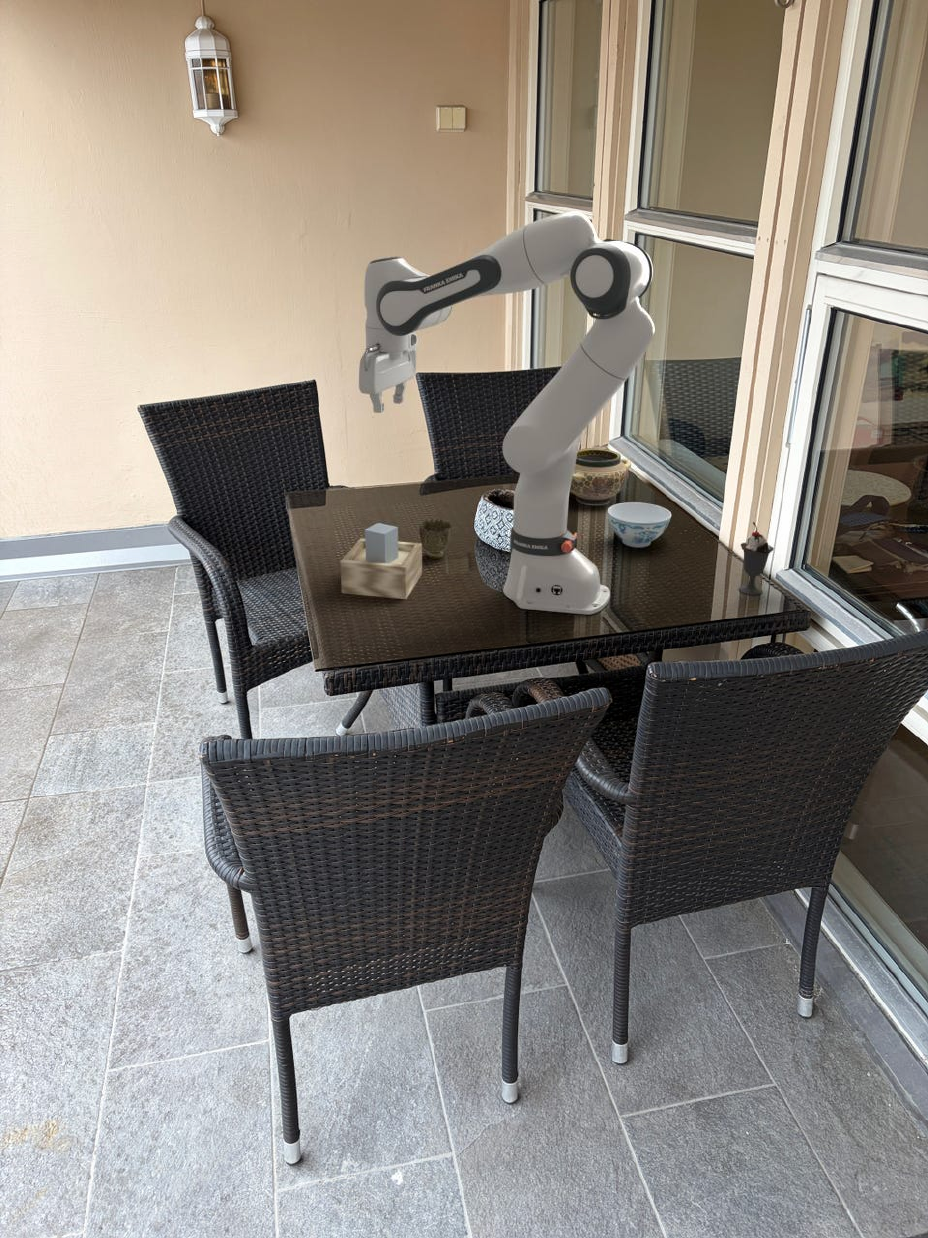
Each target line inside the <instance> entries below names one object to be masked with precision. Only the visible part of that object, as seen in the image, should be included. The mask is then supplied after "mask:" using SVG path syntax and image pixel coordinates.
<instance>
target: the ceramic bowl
mask: <svg viewBox="0 0 928 1238" xmlns="http://www.w3.org/2000/svg"><path fill="white" fill-rule="evenodd" d="M621 456H622V455H621V454H620V453H619V452H616V451H613V450H611V449H605V448H591V447H589V448H582V449H578V452H577V458H576V463H575V468H574V473H573V477H572V481H571V486H570V492H569V493H572V494H573V495H575V496H576V497H575V500H576V501H577V502H578V503H579V504H582V505H586V506H604V505H608V504H610V502H611V500H612V497H614V496H615V495H617V494H619V492H620V491H621V490H623V488H625V486H626V484H627V482H628V479H629V474H630V473H629V469H630V468H631V467H632V462H631V461H630V460H629V459H627V458H621Z"/></svg>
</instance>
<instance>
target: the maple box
mask: <svg viewBox="0 0 928 1238" xmlns="http://www.w3.org/2000/svg"><path fill="white" fill-rule="evenodd" d="M339 562H340V580H341V593H342V594H348V595H349V594H350V595H359V596H368V597H377V598H378V597H379V598H389V599H401V600H407V598H408V597H409V595H410V593H411V592H412V591H413V589H414V588H415V586H416V584H417V582H418V581H419V580H420V578H421V576H422V575H423V546H422V543H421V542H419V543H418V542H410V541H409V542H408V541H398V558H397V559H396V560H394V561H392V562H391V563H389V564H388V563H376V562H369V561H366V550H365V538H359V539H358V540H357V542H356V543H355V544H354V545H353V547H351V548H350V549H349V551H348V552H347V553H346V554H345V556H343V558H342V559H340V561H339Z"/></svg>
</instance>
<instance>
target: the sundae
mask: <svg viewBox="0 0 928 1238" xmlns="http://www.w3.org/2000/svg"><path fill="white" fill-rule="evenodd" d="M752 524H753V526H754V527H755V531H753V532H752V534H751V536H750V537H749V538H748V539H747V540H746V542H742V543H741V544H740V547H741V550H742V551H743V568H744V569H743V570H744V572H746V574H747V575H748V576H749V580H748V583H747V585H742V586H739V587H738V591H739V592H740V593H741V594H744V595H747V596H759V595H762V594H763V590H762V589H761V588H760V587H758V586H756V584H755V583H756V577H758V576H760V575H761V574H762V573H764V570H765V568H766V565H767V562H768V559H769V556H770V553H772V552H773V551H774V549H775V548H774V547H773V546H771V545H770V544H769V543H768V542H767V540H766V537H765V536H764V535H763V534H760V532H759V531H758V527H757V525H756V522H754V521H753V522H752Z"/></svg>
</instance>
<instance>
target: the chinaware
mask: <svg viewBox="0 0 928 1238" xmlns="http://www.w3.org/2000/svg"><path fill="white" fill-rule="evenodd" d="M607 517H608V522H609V525H610V527H611V529H612V530H613V531H612V532H614V533H615V534H616V536H618V537H619V538H620V539H621V540H622V541H621V542H622V543H623V545H626V546H628V547H632V548H645V547H648V546H650V545H651V542H653V541H654V540H657V539H658V538H659V537H660V536H661V535H662V534H663V533H664V532H665V530H666V529H667V527H668V525H669V523H670V521H671V517H672V513H671V511H670V510H668V509H667V508H665V507H664V506H662V505H661V506H660V505H657V504H653V503H650V502H649V503H648V502H639V501H638V502H636V501H631V502H622V503H621V502H620V503H616V504H613V505H611V506H609V507H608V508H607Z"/></svg>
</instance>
